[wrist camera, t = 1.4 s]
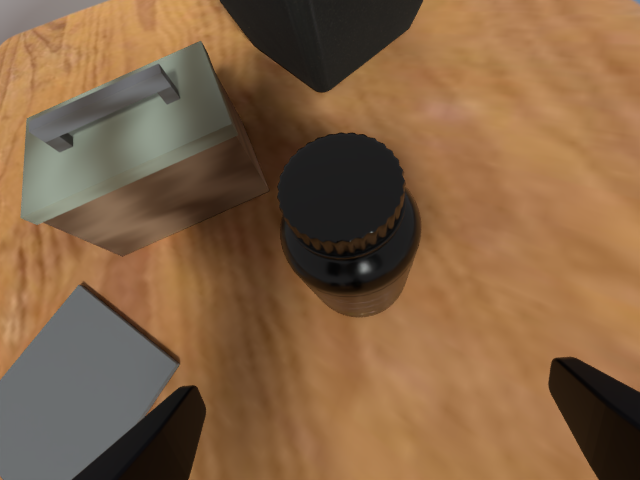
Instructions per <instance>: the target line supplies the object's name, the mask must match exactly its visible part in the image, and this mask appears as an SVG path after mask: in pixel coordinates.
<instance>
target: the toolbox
mask: <svg viewBox="0 0 640 480" xmlns="http://www.w3.org/2000/svg"><path fill="white" fill-rule="evenodd" d="M268 191H269V188H268V186H267V183H266V181H265V178H264V176H263V173H262V171H261V168H260V166H259V163H258V161H257V158H256V155H255V153H254V150H253V148H252V145H251V143H250V140H249V138H248V135H247V133H246V130H245V128H244V125H243V123H242V121H241V119H240V117H239V115H238V113H237V111H236V110H235V108H234V106H233V104H232V102H231V101H230V99H229V97H228V95H227V93H226V91H225V90H224V88H223V86H222V84H221V82H220V80H219V79H218V77H217V75H216V73H215V71H214V69H213V66H212V63H211V61H210V58H209V55H208V53H207V51H206V49H205V47H204V45H203V44H202V42H201V41H199V42H197V43H195V44H193V45H190V46H188V47H186V48H184V49H181V50H179V51H177V52H175V53H172V54H170V55H168V56H166V57H163V58H161V59H159V60H157V61H155V62H152V63H150V64H148V65H146V66H143V67H141V68H139V69H137V70H134V71H132V72H130V73H128V74H125V75H123V76H121V77H119V78H116V79H114V80H112V81H110V82H107V83H105V84H103V85H101V86H98V87H96V88H94V89H92V90H90V91H87V92H85V93H83V94H81V95H78V96H76V97H74V98H72V99H69V100H67V101H65V102H63V103H60V104H58V105H56V106H54V107H51V108H49V109H47V110H45V111H42V112H40V113H38V114H36V115H34V116H31V117H29V118H27V122H26V138H25V154H24V171H23V187H22V204H21V218H22V219H24V220H27V221H29V222H31V223H34V224H36V225H38V224H40V223H45V224H48V225H50V226H52V227H55V228H57V229H59V230H62V231H64V232H66V233H69V234H71V235H73V236H76V237H78V238H80V239H83V240H85V241H87V242H90V243H92V244H94V245H97V246H99V247H101V248H104V249H106V250H108V251H111V252H113V253H115V254H117V255H120V256H122V257H123V256H125V255H127V254H129V253H131V252H134V251H136V250H138V249H140V248H143V247H145V246H147V245H149V244H152V243H154V242H156V241H158V240H161V239H163V238H165V237H167V236H170V235H172V234H174V233H176V232H178V231H181V230H183V229H185V228H187V227H190V226H192V225H194V224H196V223H199V222H201V221H203V220H205V219H208V218H210V217H212V216H214V215H217V214H219V213H221V212H223V211H226V210H228V209H230V208H232V207H234V206H237V205H239V204H241V203H243V202H246V201H248V200H250V199H252V198H255V197H257V196H259V195H261V194H264V193H266V192H268Z"/></svg>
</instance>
